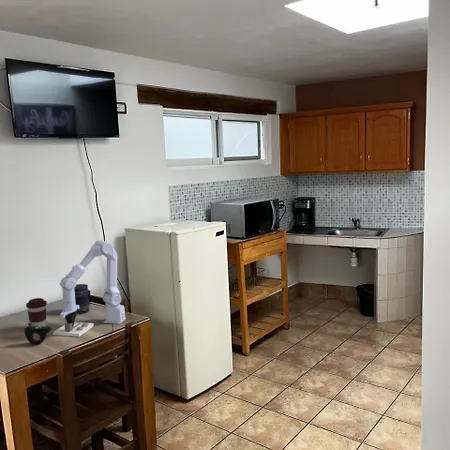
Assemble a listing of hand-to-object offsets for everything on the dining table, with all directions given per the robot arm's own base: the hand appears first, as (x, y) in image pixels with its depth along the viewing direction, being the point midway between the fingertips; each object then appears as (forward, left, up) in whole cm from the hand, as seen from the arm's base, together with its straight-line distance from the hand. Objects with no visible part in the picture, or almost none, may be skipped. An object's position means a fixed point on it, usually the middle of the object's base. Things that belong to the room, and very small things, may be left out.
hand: (71, 326), depth 232 cm
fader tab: (0, +2, -1) cm, 3 cm away
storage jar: (+12, -31, -3) cm, 33 cm away
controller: (+8, +15, -3) cm, 18 cm away
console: (0, -3, -3) cm, 4 cm away
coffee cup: (+21, -4, -3) cm, 21 cm away
